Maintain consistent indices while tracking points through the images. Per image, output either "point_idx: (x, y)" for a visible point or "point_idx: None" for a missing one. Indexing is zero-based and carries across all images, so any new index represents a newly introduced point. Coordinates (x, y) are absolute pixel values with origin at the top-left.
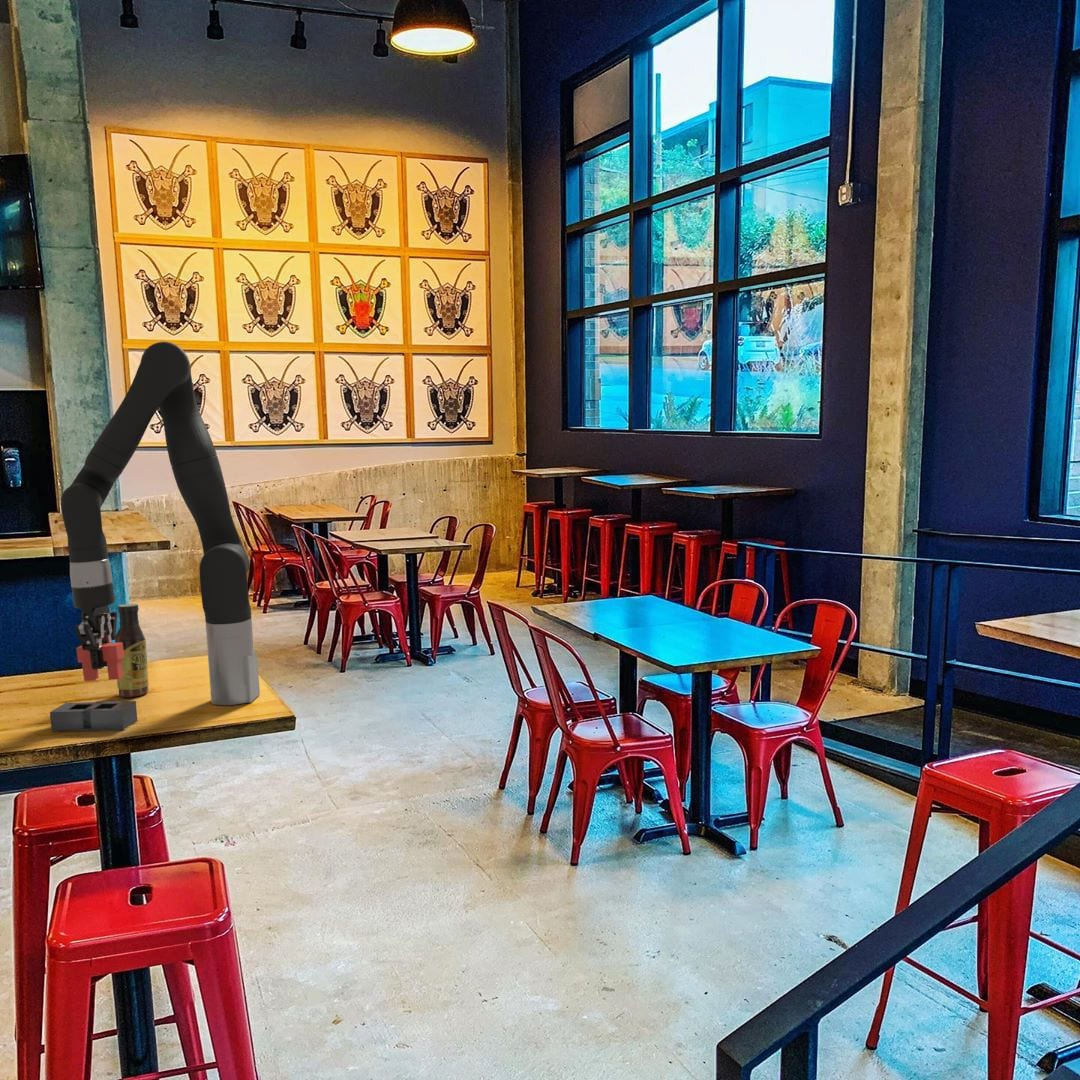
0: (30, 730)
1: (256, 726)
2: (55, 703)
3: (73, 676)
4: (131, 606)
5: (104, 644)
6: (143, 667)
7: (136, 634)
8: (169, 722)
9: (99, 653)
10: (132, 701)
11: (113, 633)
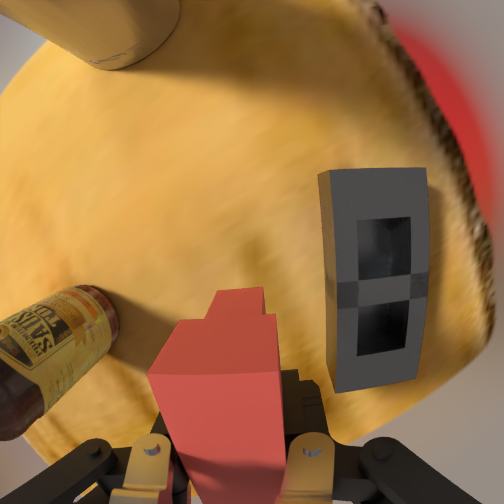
0: (374, 400)
1: None
2: None
3: (54, 451)
4: None
5: (216, 460)
6: (44, 308)
7: None
8: (326, 76)
9: (303, 427)
10: (334, 179)
11: (86, 470)
